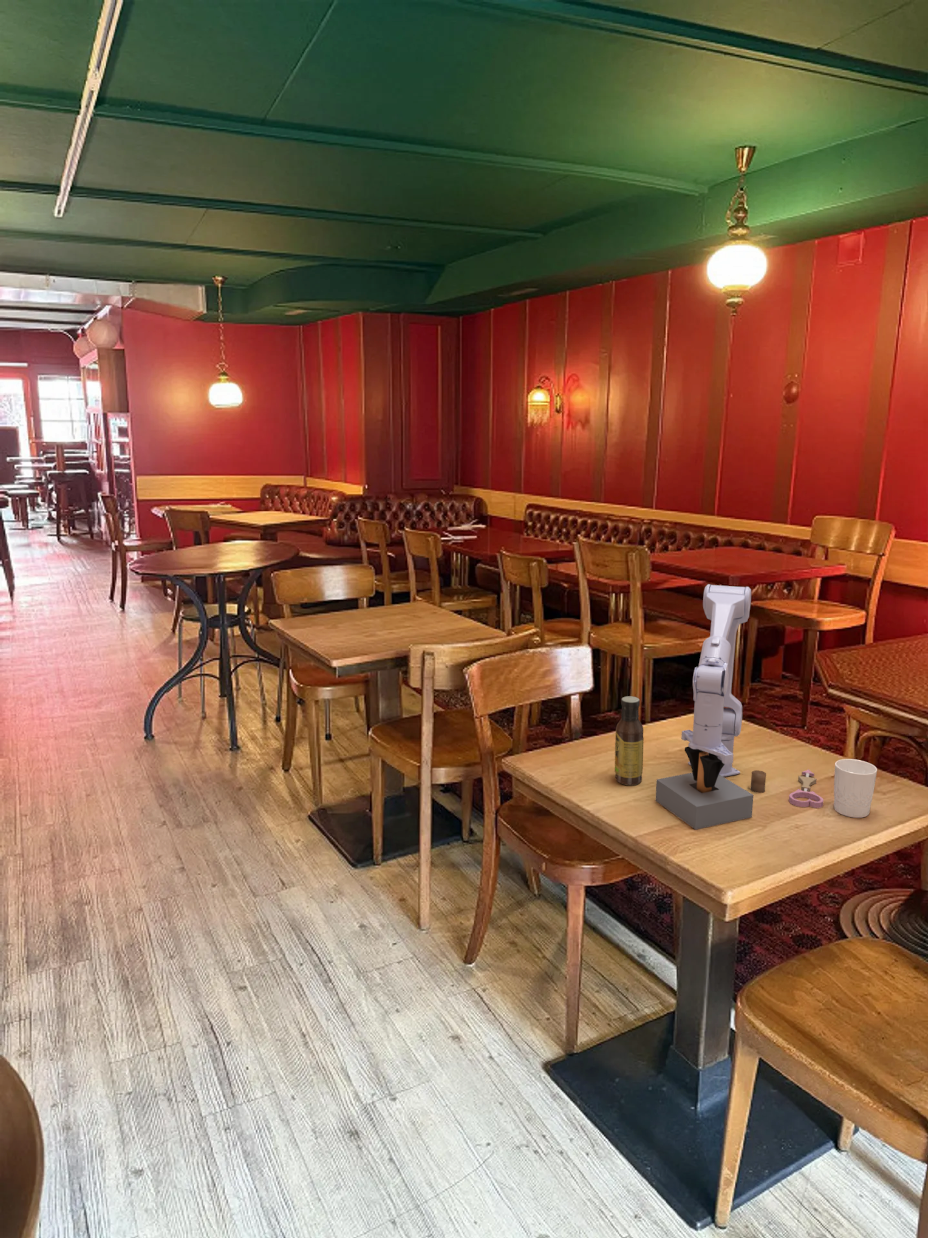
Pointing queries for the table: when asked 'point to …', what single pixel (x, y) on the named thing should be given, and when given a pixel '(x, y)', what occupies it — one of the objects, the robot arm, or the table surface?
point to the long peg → (701, 776)
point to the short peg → (758, 781)
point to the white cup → (853, 787)
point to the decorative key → (806, 792)
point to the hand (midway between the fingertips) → (704, 783)
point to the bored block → (704, 801)
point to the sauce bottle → (629, 743)
